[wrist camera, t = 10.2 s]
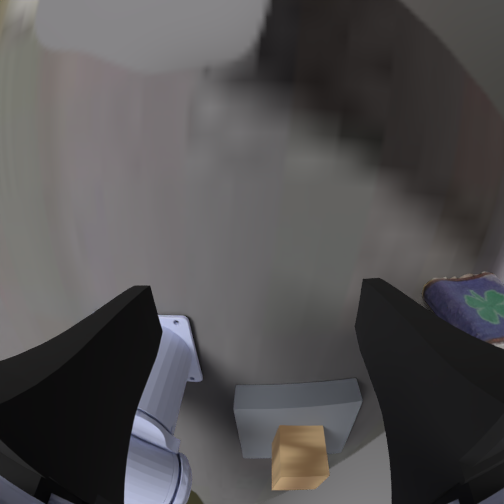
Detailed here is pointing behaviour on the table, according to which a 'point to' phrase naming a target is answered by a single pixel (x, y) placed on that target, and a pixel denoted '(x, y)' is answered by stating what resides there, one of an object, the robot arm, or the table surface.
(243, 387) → the base block
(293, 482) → the oak block
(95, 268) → the table surface
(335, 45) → the table surface
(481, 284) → the flask
